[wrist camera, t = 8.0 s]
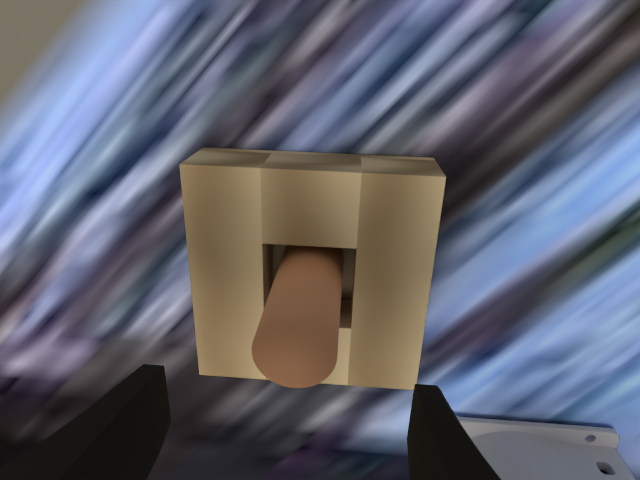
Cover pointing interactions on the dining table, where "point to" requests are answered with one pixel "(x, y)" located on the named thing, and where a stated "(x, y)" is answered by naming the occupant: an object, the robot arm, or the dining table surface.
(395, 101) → the dining table surface
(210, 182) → the bore block
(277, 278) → the pin
